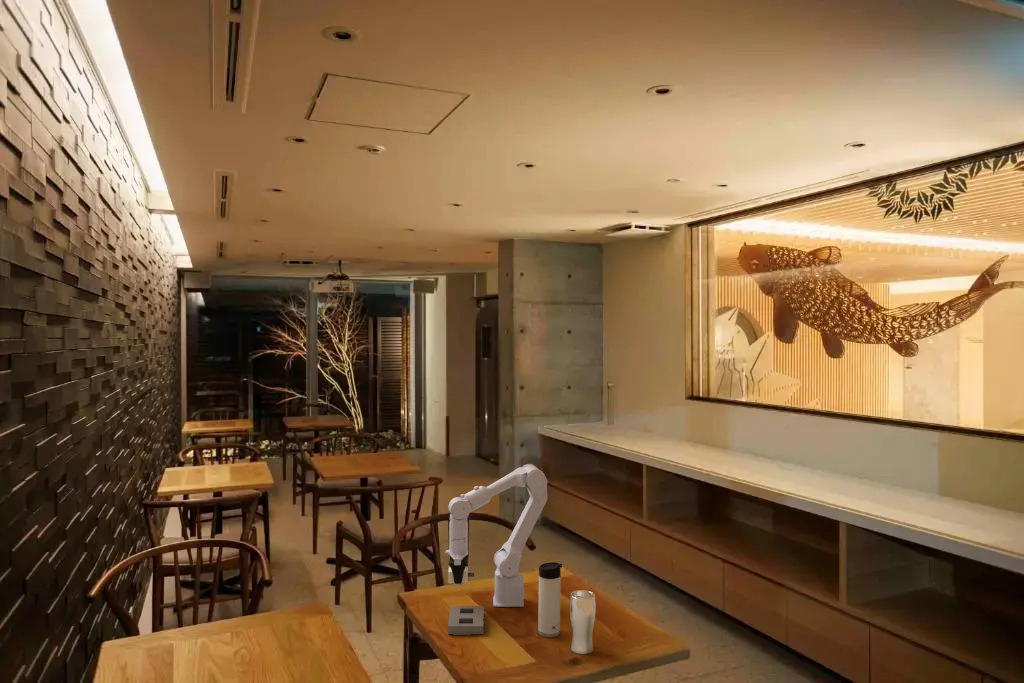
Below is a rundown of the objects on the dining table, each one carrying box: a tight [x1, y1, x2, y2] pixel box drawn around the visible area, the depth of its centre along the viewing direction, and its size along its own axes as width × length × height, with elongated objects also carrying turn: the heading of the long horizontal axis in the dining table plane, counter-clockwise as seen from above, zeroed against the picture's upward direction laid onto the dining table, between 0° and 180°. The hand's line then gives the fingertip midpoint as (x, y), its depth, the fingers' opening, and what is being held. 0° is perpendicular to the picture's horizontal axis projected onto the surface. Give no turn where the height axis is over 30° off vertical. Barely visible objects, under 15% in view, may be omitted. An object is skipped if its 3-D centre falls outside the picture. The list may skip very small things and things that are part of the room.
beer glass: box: [569, 589, 597, 655], centre depth 191 cm, size 7×7×15 cm
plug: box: [447, 565, 475, 589], centre depth 219 cm, size 8×5×6 cm, turn 92°
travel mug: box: [537, 561, 563, 638], centre depth 201 cm, size 6×7×20 cm
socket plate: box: [447, 605, 485, 636], centre depth 206 cm, size 10×14×2 cm
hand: (458, 580), depth 219 cm, fingers closed on plug, 5 cm apart
